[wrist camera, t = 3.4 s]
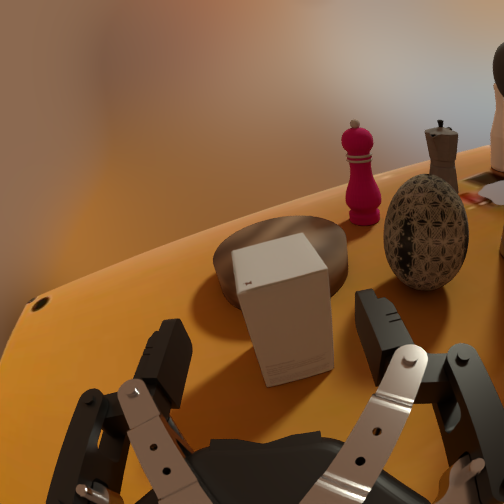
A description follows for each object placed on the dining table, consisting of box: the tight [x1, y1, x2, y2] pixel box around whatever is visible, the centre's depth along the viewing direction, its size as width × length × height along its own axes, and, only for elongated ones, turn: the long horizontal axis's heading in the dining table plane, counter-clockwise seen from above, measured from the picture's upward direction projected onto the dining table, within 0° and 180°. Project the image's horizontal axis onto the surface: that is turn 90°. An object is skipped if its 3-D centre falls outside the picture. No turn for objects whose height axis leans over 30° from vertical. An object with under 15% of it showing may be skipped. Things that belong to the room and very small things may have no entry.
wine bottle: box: [490, 83, 504, 172], centre depth 58 cm, size 10×10×30 cm
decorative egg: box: [384, 174, 469, 290], centre depth 31 cm, size 12×12×15 cm
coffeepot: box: [425, 120, 458, 193], centre depth 55 cm, size 15×9×18 cm, turn 123°
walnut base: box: [213, 216, 348, 310], centre depth 44 cm, size 20×20×5 cm
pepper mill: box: [341, 119, 381, 226], centre depth 50 cm, size 7×7×20 cm
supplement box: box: [231, 233, 334, 387], centre depth 27 cm, size 7×7×13 cm
